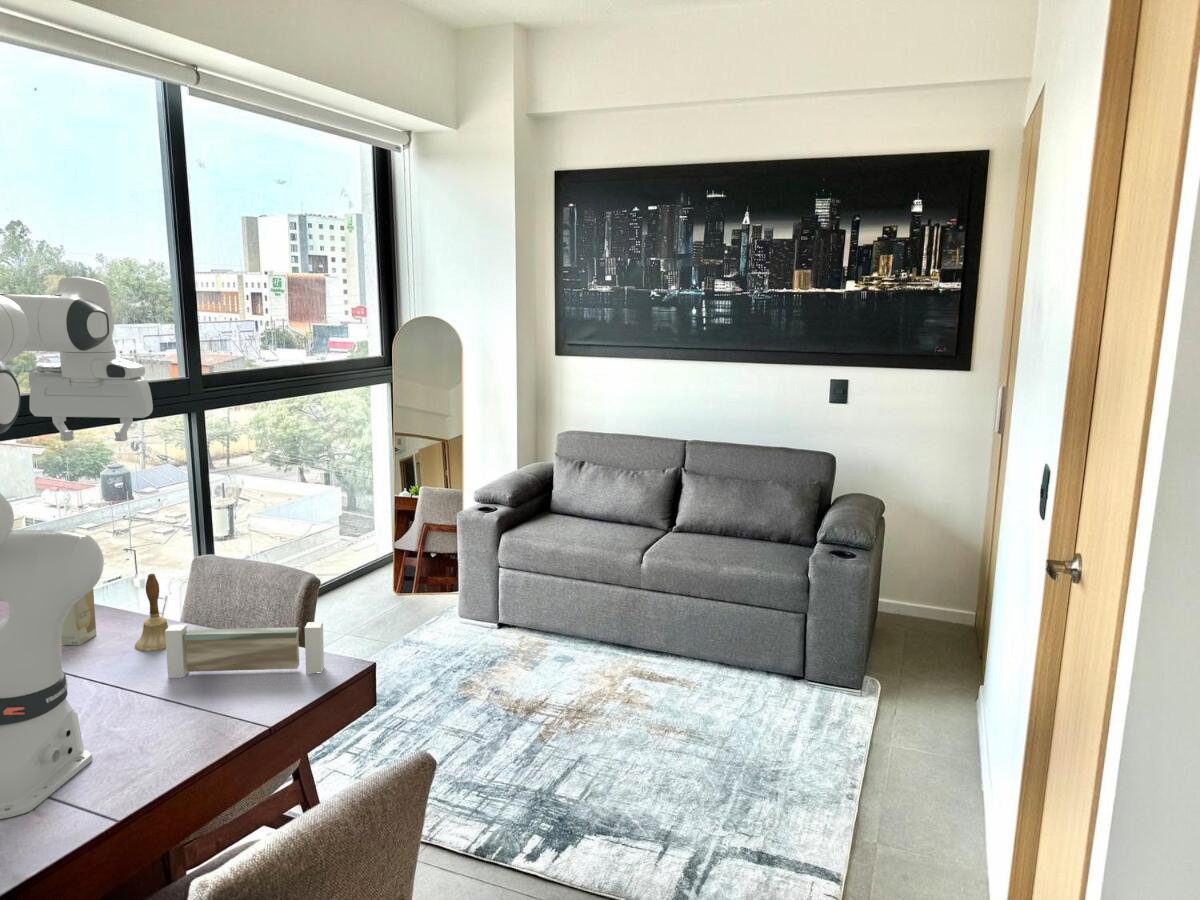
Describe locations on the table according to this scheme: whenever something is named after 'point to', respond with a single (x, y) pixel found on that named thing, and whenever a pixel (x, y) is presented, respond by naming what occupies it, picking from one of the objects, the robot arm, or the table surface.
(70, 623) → the skincare box
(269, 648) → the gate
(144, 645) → the hand bell
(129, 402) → the robot arm
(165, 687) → the table surface
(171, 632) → the gate posts
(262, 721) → the table surface
